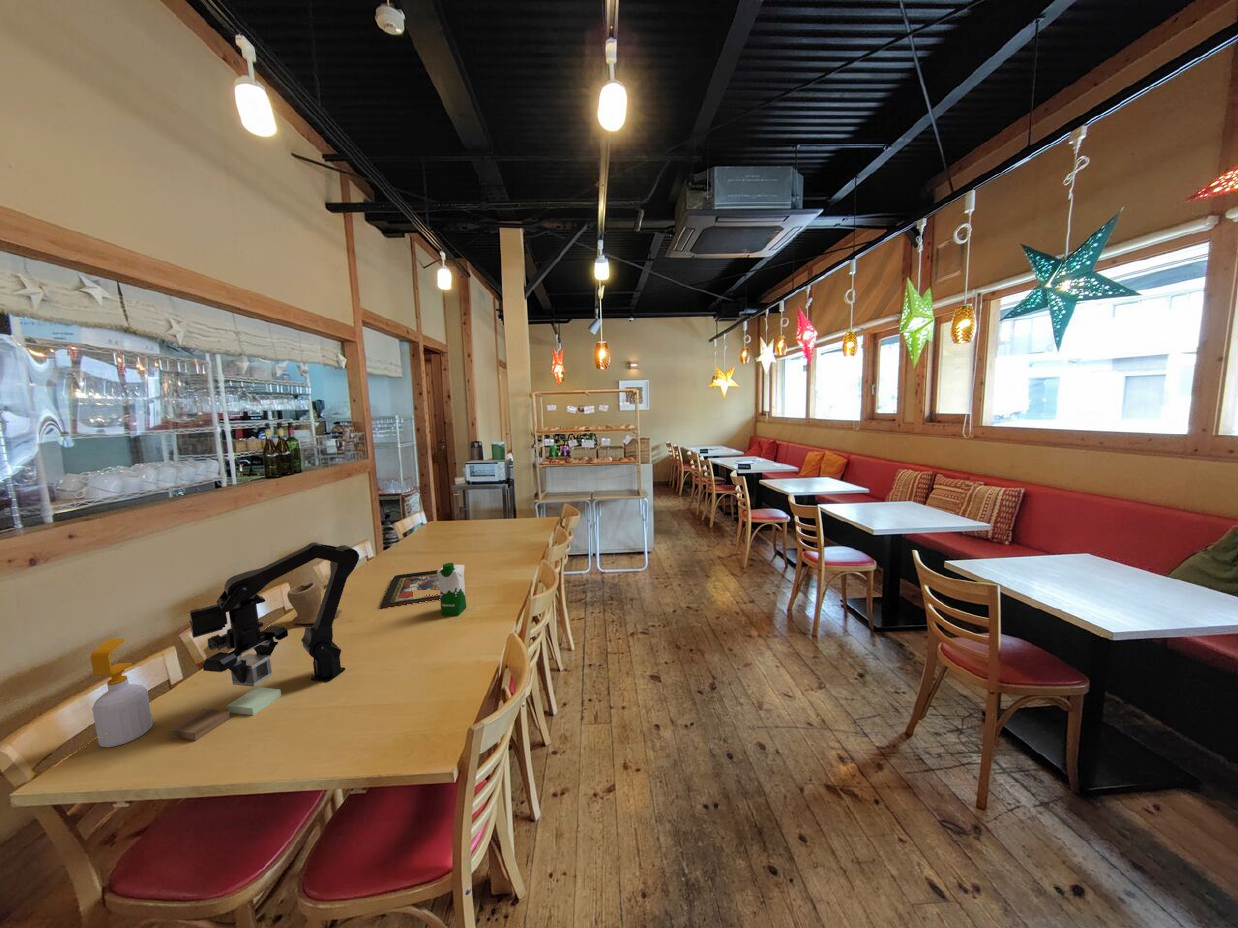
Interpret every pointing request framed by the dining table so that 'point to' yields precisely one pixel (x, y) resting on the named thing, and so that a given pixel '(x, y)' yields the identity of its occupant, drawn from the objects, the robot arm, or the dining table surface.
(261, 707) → the stand green
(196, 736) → the stand walnut
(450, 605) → the milk carton
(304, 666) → the dining table surface
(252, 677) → the housing
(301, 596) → the stone cup
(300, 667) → the dining table surface
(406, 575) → the religious icon
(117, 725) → the soap bottle
